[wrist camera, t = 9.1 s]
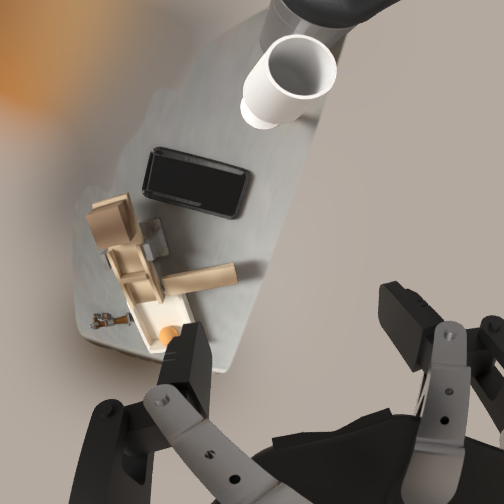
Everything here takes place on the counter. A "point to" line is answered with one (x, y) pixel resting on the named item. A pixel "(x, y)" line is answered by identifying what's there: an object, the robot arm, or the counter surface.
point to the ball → (167, 335)
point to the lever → (144, 256)
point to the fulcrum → (147, 242)
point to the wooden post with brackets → (108, 321)
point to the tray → (161, 318)
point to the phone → (195, 182)
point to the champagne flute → (287, 81)
